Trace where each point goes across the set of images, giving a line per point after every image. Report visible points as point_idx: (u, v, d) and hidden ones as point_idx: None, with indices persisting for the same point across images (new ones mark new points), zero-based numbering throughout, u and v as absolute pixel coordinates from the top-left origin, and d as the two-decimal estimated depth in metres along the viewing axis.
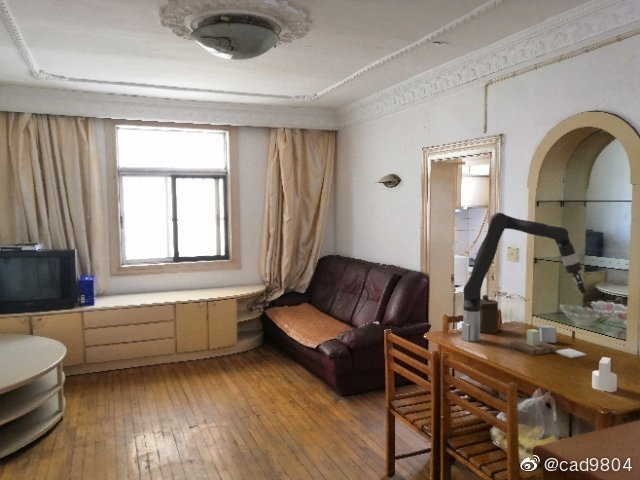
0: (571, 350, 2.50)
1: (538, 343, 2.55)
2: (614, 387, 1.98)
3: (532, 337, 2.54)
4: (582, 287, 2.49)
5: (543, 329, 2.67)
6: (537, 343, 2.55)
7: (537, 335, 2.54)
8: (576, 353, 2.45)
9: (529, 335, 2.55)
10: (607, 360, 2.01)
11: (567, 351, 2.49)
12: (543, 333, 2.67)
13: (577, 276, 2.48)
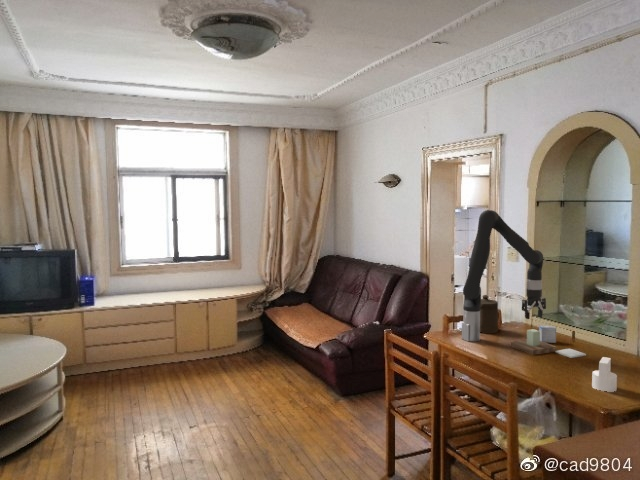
0: (571, 350, 2.50)
1: (538, 343, 2.55)
2: (614, 387, 1.98)
3: (532, 337, 2.54)
4: (526, 313, 2.53)
5: (543, 329, 2.67)
6: (537, 343, 2.55)
7: (537, 335, 2.54)
8: (576, 353, 2.45)
9: (529, 335, 2.55)
10: (607, 360, 2.01)
11: (567, 351, 2.49)
12: (543, 333, 2.67)
13: (523, 301, 2.52)
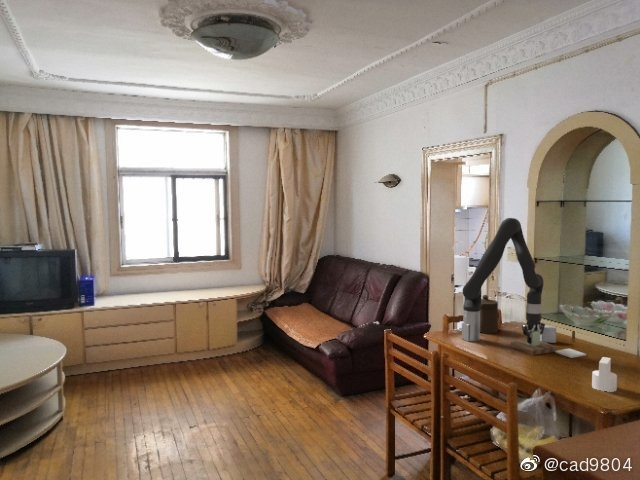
0: (571, 350, 2.50)
1: (538, 343, 2.55)
2: (614, 387, 1.98)
3: (532, 337, 2.54)
4: (528, 337, 2.55)
5: None
6: (537, 343, 2.55)
7: (537, 335, 2.54)
8: (576, 353, 2.45)
9: None
10: (607, 360, 2.01)
11: (567, 351, 2.49)
12: (543, 333, 2.67)
13: (523, 327, 2.54)
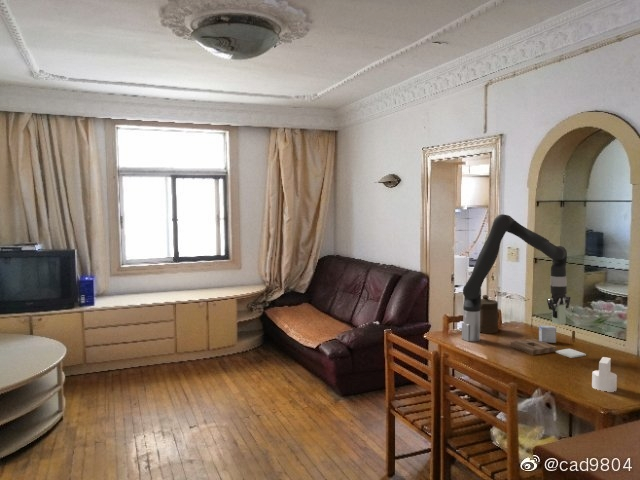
0: (571, 350, 2.50)
1: (564, 317, 2.47)
2: (614, 387, 1.98)
3: (558, 311, 2.46)
4: (554, 312, 2.47)
5: (543, 329, 2.67)
6: (563, 317, 2.47)
7: (563, 309, 2.47)
8: (576, 353, 2.45)
9: None
10: (607, 360, 2.01)
11: (567, 351, 2.49)
12: (543, 333, 2.67)
13: (548, 300, 2.46)
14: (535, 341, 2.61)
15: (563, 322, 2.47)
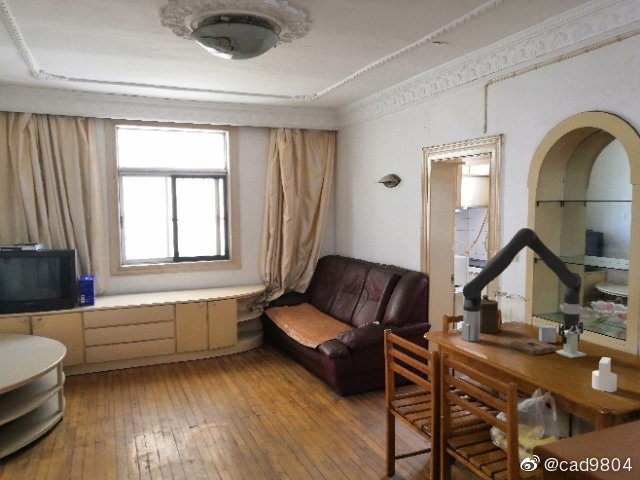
0: None
1: (576, 346, 2.45)
2: (614, 387, 1.98)
3: (570, 340, 2.44)
4: (563, 338, 2.45)
5: (543, 329, 2.67)
6: (575, 346, 2.45)
7: (575, 338, 2.45)
8: (576, 353, 2.45)
9: (567, 338, 2.46)
10: (607, 360, 2.01)
11: None
12: (543, 333, 2.67)
13: (560, 325, 2.44)
14: (535, 341, 2.61)
15: (575, 351, 2.45)
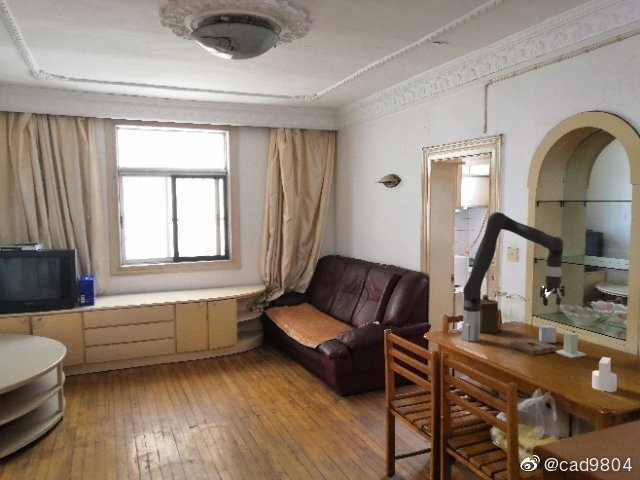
0: None
1: (576, 346, 2.45)
2: (614, 387, 1.98)
3: (570, 340, 2.44)
4: (544, 299, 2.51)
5: (543, 329, 2.67)
6: (575, 346, 2.45)
7: (575, 338, 2.45)
8: (576, 353, 2.45)
9: (567, 338, 2.46)
10: (607, 360, 2.01)
11: None
12: (543, 333, 2.67)
13: (542, 287, 2.51)
14: (535, 341, 2.61)
15: (575, 351, 2.45)
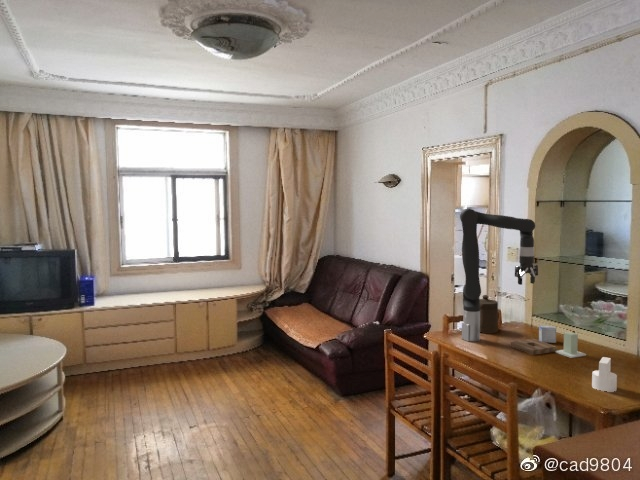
0: None
1: (576, 346, 2.45)
2: (614, 387, 1.98)
3: (570, 340, 2.44)
4: (519, 279, 2.64)
5: (543, 329, 2.67)
6: (575, 346, 2.45)
7: (575, 338, 2.45)
8: (576, 353, 2.45)
9: (567, 338, 2.46)
10: (607, 360, 2.01)
11: None
12: (543, 333, 2.67)
13: (516, 267, 2.63)
14: (535, 341, 2.61)
15: (575, 351, 2.45)
